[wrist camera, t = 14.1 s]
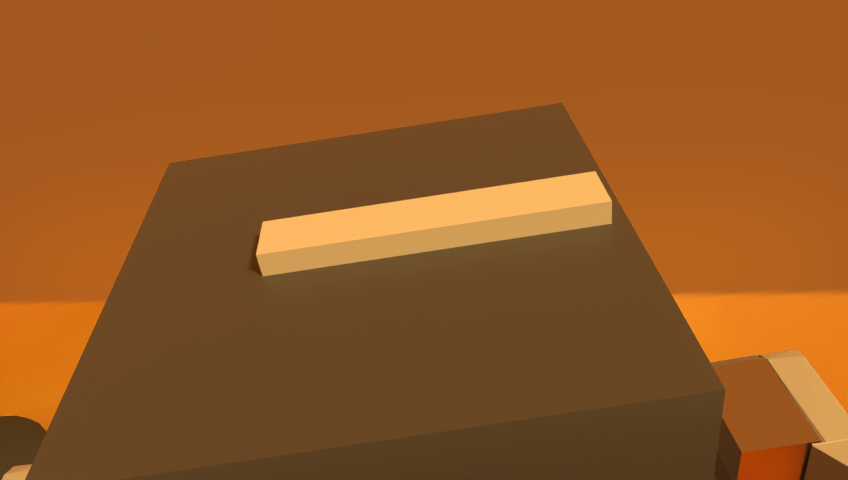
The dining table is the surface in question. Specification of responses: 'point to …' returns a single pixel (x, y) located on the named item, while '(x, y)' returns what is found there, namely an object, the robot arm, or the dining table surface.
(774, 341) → the dining table surface
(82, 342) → the dining table surface
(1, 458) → the sundae
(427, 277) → the slotted ballot box
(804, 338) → the dining table surface
